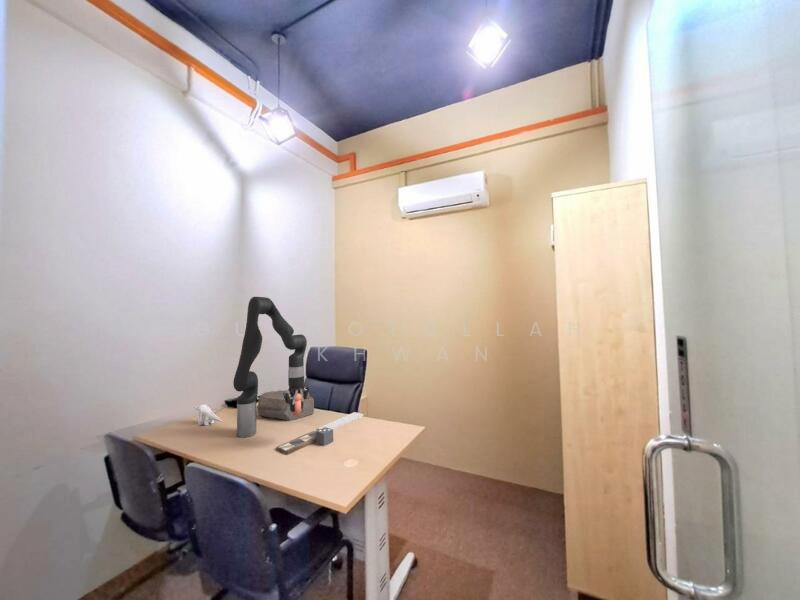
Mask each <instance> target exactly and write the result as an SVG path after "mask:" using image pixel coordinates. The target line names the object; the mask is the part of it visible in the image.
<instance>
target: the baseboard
mask: <svg viewBox="0 0 800 600" xmlns="http://www.w3.org/2000/svg"><path fill="white" fill-rule="evenodd" d="M353 411H354V412H353ZM353 411H352V413H349V414H346V415H344V416H345V417H344V416H342V417H340V418H338V419H336V420H333V421H331V422H329V423H327V424H324V425H322V426H320V427H317V428H316V429H317V430H320V429H322V428H324V427H326V428H330V429H333V431H334V430H336V429H338V428H340V427H342V426H345V425H347V424H348V422H349V423H351V422H353V421H355V420H356V419H359V418H361V417H363V416H364V413H362V412H359V410H356V411H355V410H353ZM358 416H359V418H358ZM352 420H353V421H352ZM350 421H351V422H350ZM346 423H347V424H346ZM335 428H336V429H335ZM317 430H316V431H317Z"/></svg>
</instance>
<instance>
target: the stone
mask: <svg viewBox="0 0 800 600" xmlns="http://www.w3.org/2000/svg"><path fill="white" fill-rule="evenodd" d="M287 391H288V389H286V390H280V389H279V390H277V391H274V390H272V391H268V392H264V393H262V394H260V395H259V397H258V402H257V405H256V410H257V412H258V414H259V416H260V417H266V418H270V419H275V418H278V419H279V420H282V421H283V420H285V421H294V420H298V419H300V418H304V417H308V416H310V415H312V414H314V412H315V401H314V398H313V397H312V396H310V392H309V391H308V395H307V399H305V400H304V401H303V409H301V415H298V416H293V412H291V411H290V404H287V403H286V401H285V398H284V395H283V393H284V392H287ZM289 397H290V393H289Z"/></svg>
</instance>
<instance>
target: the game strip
mask: <svg viewBox="0 0 800 600" xmlns="http://www.w3.org/2000/svg"><path fill="white" fill-rule="evenodd" d="M316 431H317V430H312V431H310V432H308V433H305V434H303V435H300V436H298V437H296V438H293V439H291V440H289V441H286V442H284V443H282V444H280V445H278V446H276V451H278V452H281V453H282V454H285V455H287V456H288V455H290V454H293V453H295V452H298V451H299V450H301V449H303V448H305V447H307V446H310V445H311V444H314V443H316Z"/></svg>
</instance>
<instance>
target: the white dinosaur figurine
mask: <svg viewBox="0 0 800 600" xmlns="http://www.w3.org/2000/svg"><path fill="white" fill-rule="evenodd" d="M193 409H194V410H196V411H198V417H197V425H198V426H203V425H204V426H206V427H208V426H209V425H210V424H214V422H222V423H224V421H223V420H222V419H221V417H219V416H218V415H217V414H216V413H214V412H213V411H212V409H211V408H210V406H208V404H205V403H203V404H201V405H199V406H197V407H193Z"/></svg>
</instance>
